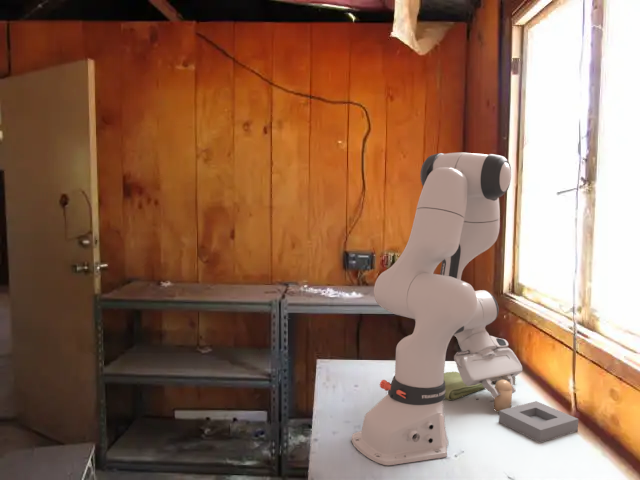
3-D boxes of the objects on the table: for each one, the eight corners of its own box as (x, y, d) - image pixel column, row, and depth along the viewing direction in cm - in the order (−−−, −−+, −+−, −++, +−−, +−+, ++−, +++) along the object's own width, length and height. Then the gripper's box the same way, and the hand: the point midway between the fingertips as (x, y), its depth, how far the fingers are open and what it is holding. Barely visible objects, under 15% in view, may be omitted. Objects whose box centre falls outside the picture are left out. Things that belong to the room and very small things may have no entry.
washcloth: (488, 390, 148) (488, 380, 147) (450, 403, 137) (451, 392, 137) (452, 377, 158) (453, 367, 158) (415, 388, 147) (415, 378, 147)
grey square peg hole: (540, 442, 114) (540, 430, 114) (498, 422, 125) (499, 410, 125) (577, 430, 121) (578, 418, 121) (535, 412, 132) (536, 401, 131)
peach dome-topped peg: (503, 414, 130) (504, 384, 129) (490, 408, 133) (491, 378, 133) (514, 411, 132) (516, 381, 131) (501, 405, 136) (502, 376, 135)
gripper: (457, 347, 132) (484, 395, 125) (510, 339, 142) (537, 383, 134) (445, 359, 137) (470, 406, 129) (497, 350, 146) (523, 393, 139)
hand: (505, 394), depth 132 cm, fingers closed on peach dome-topped peg, 4 cm apart
